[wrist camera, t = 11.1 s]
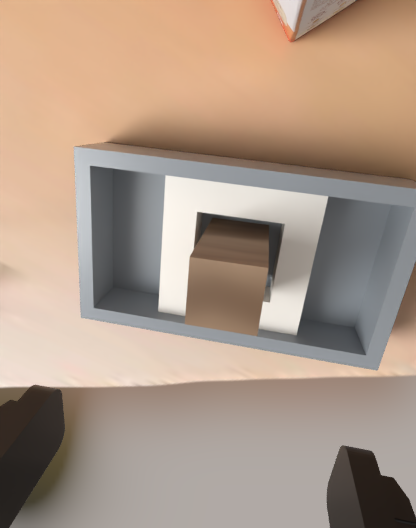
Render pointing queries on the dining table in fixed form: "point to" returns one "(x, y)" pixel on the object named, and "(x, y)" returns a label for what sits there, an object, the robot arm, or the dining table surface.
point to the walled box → (280, 246)
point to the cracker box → (306, 14)
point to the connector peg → (228, 277)
